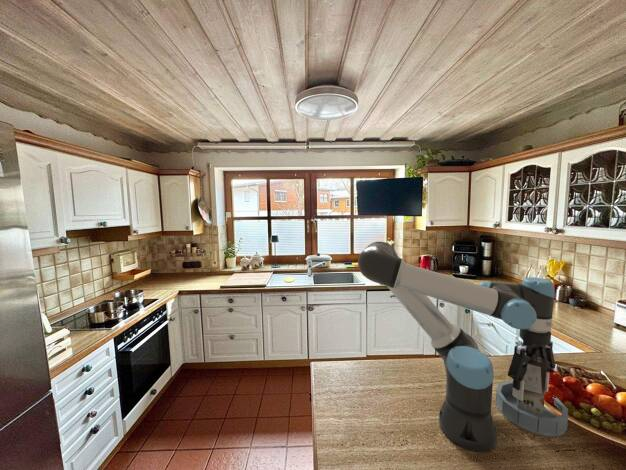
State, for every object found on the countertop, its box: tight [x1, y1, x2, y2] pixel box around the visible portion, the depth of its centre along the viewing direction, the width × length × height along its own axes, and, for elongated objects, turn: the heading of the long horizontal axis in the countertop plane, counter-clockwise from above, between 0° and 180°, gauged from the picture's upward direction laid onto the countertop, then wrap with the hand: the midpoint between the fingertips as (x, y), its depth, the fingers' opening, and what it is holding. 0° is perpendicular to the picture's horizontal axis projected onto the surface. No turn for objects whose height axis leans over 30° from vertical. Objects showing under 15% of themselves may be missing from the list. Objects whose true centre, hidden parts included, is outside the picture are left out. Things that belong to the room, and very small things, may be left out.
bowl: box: [495, 380, 569, 438], centre depth 85 cm, size 17×17×5 cm
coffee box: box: [517, 355, 547, 417], centre depth 84 cm, size 9×6×16 cm
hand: (530, 393), depth 84 cm, fingers closed on coffee box, 11 cm apart
